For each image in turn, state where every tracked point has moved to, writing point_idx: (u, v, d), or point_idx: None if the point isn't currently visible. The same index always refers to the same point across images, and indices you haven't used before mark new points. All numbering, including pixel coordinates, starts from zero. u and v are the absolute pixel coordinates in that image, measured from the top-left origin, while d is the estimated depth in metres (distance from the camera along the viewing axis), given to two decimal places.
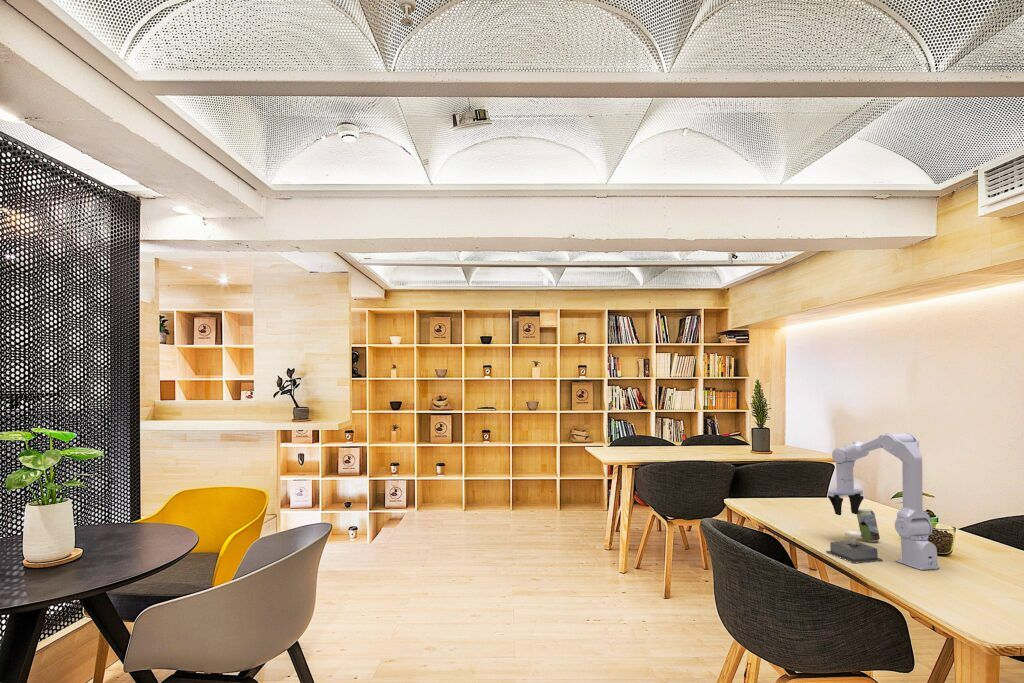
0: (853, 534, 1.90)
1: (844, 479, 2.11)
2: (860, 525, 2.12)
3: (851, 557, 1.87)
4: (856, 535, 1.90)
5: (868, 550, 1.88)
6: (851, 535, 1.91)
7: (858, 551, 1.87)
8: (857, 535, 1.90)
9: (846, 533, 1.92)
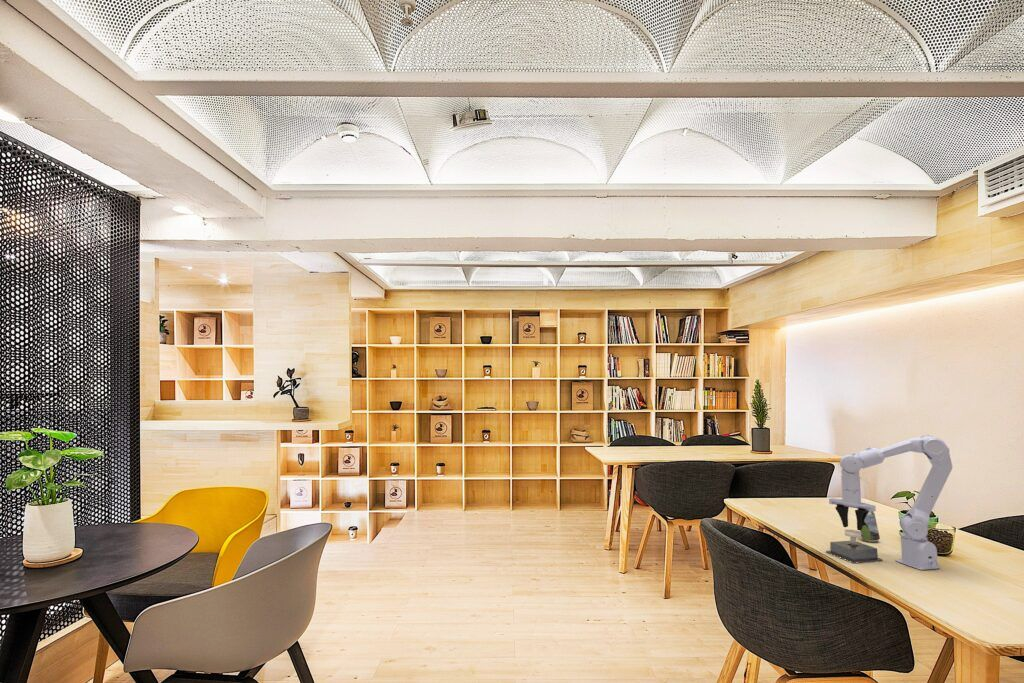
0: (853, 534, 1.90)
1: (858, 490, 1.91)
2: None
3: (851, 557, 1.87)
4: (856, 535, 1.90)
5: (868, 550, 1.88)
6: (851, 535, 1.91)
7: (858, 551, 1.87)
8: (857, 535, 1.90)
9: (846, 533, 1.92)
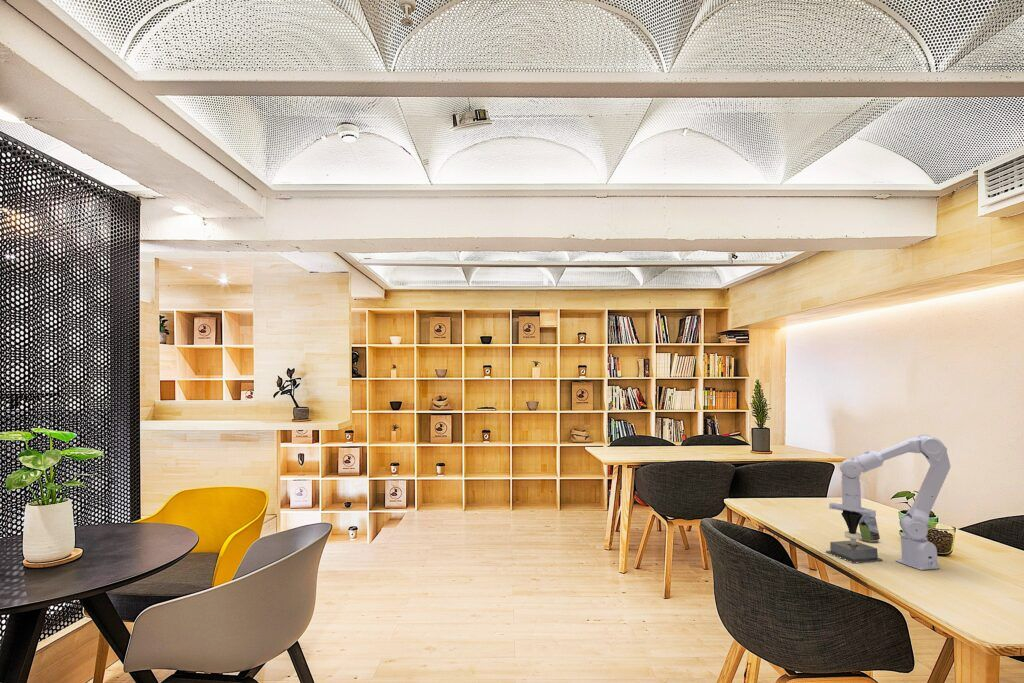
0: (853, 536, 1.90)
1: (858, 495, 1.91)
2: (860, 525, 2.12)
3: (851, 557, 1.87)
4: (856, 537, 1.90)
5: (868, 550, 1.88)
6: (851, 537, 1.91)
7: (858, 551, 1.87)
8: (857, 537, 1.90)
9: (846, 535, 1.92)
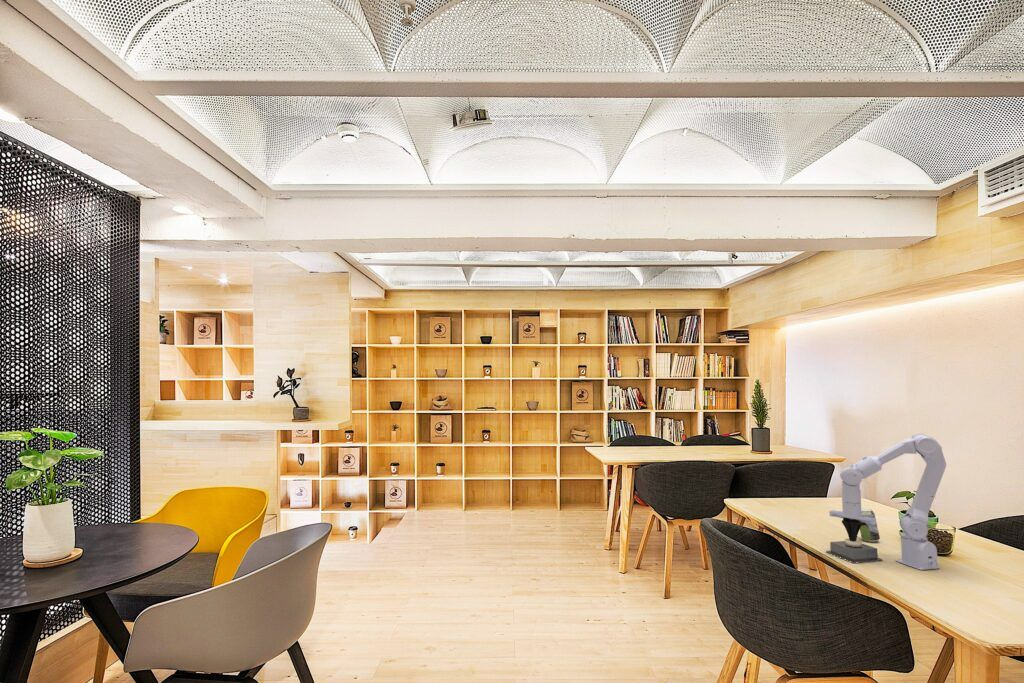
0: (853, 543, 1.90)
1: (858, 503, 1.91)
2: None
3: (851, 557, 1.87)
4: (856, 544, 1.90)
5: (868, 550, 1.88)
6: (851, 544, 1.90)
7: (858, 551, 1.87)
8: (857, 544, 1.90)
9: (846, 542, 1.92)
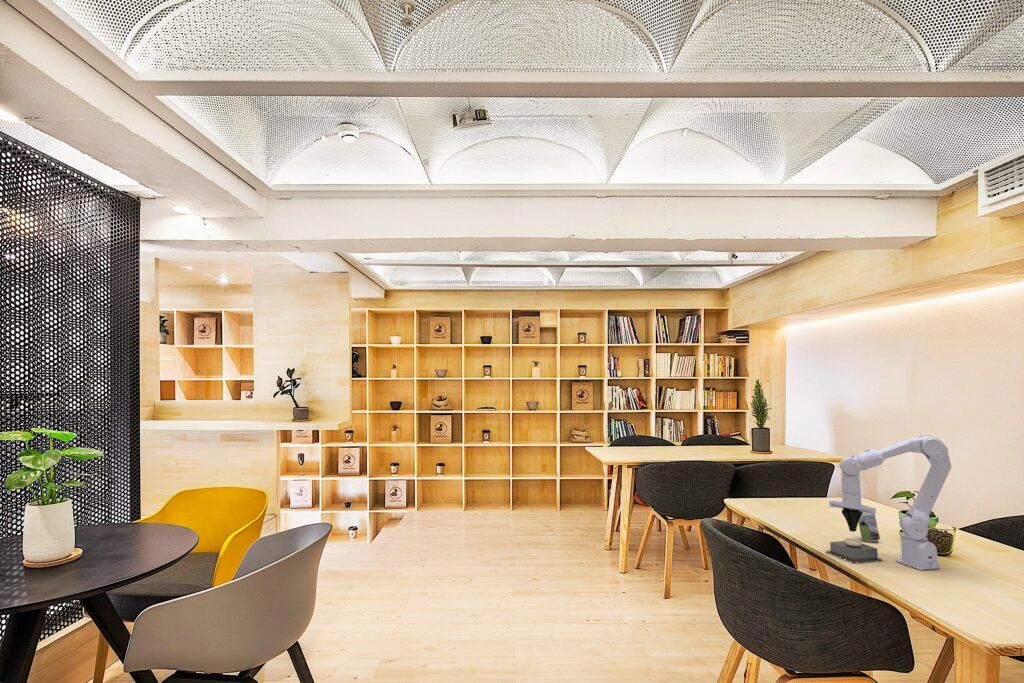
0: (853, 543, 1.90)
1: (858, 492, 1.91)
2: (860, 525, 2.12)
3: (851, 557, 1.87)
4: (856, 544, 1.90)
5: (868, 550, 1.88)
6: (851, 544, 1.90)
7: (858, 551, 1.87)
8: (857, 544, 1.90)
9: (846, 542, 1.92)
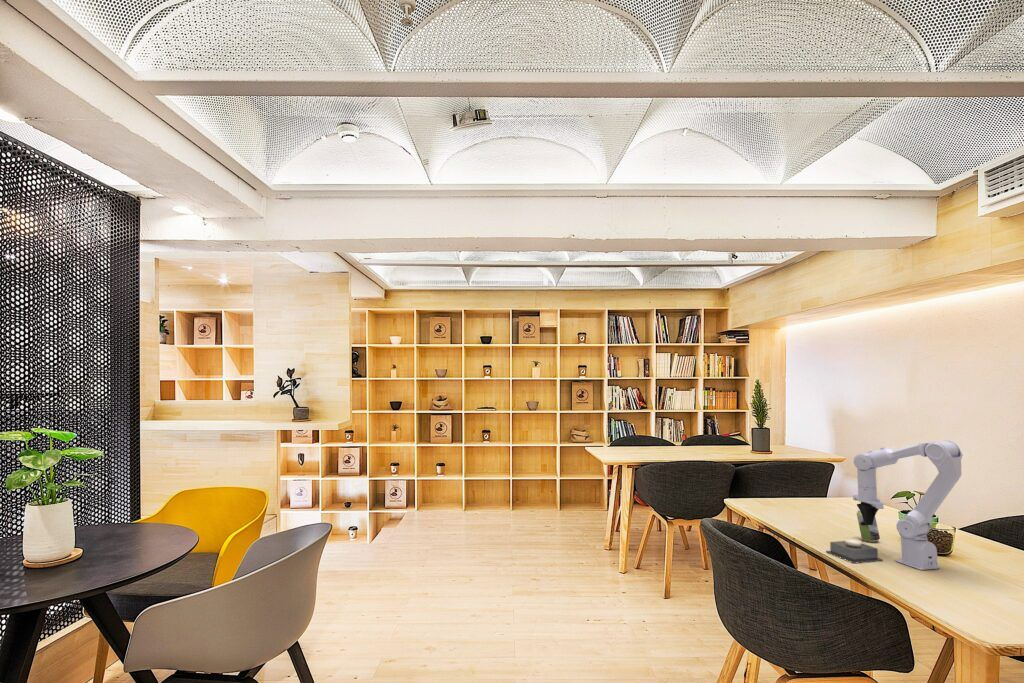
0: (853, 543, 1.90)
1: (869, 487, 1.96)
2: (860, 525, 2.12)
3: (851, 557, 1.87)
4: (856, 544, 1.90)
5: (868, 550, 1.88)
6: (851, 544, 1.90)
7: (858, 551, 1.87)
8: (857, 544, 1.90)
9: (846, 542, 1.92)
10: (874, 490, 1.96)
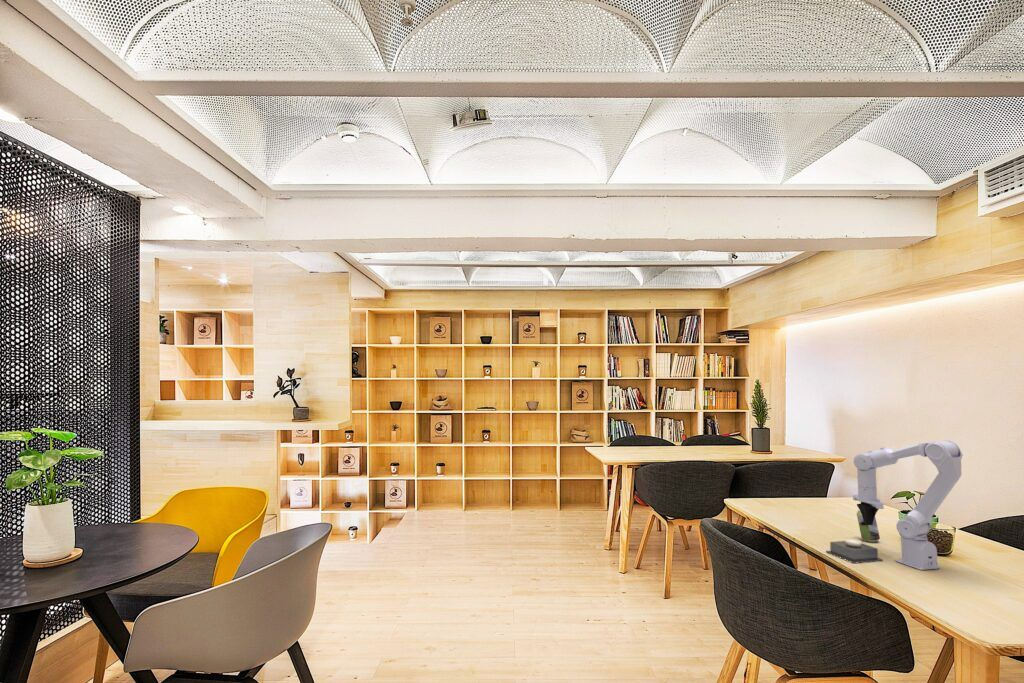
0: (853, 543, 1.90)
1: (869, 487, 1.96)
2: (860, 525, 2.12)
3: (851, 557, 1.87)
4: (856, 544, 1.90)
5: (868, 550, 1.88)
6: (851, 544, 1.90)
7: (858, 551, 1.87)
8: (857, 544, 1.90)
9: (846, 542, 1.92)
10: (874, 490, 1.96)
